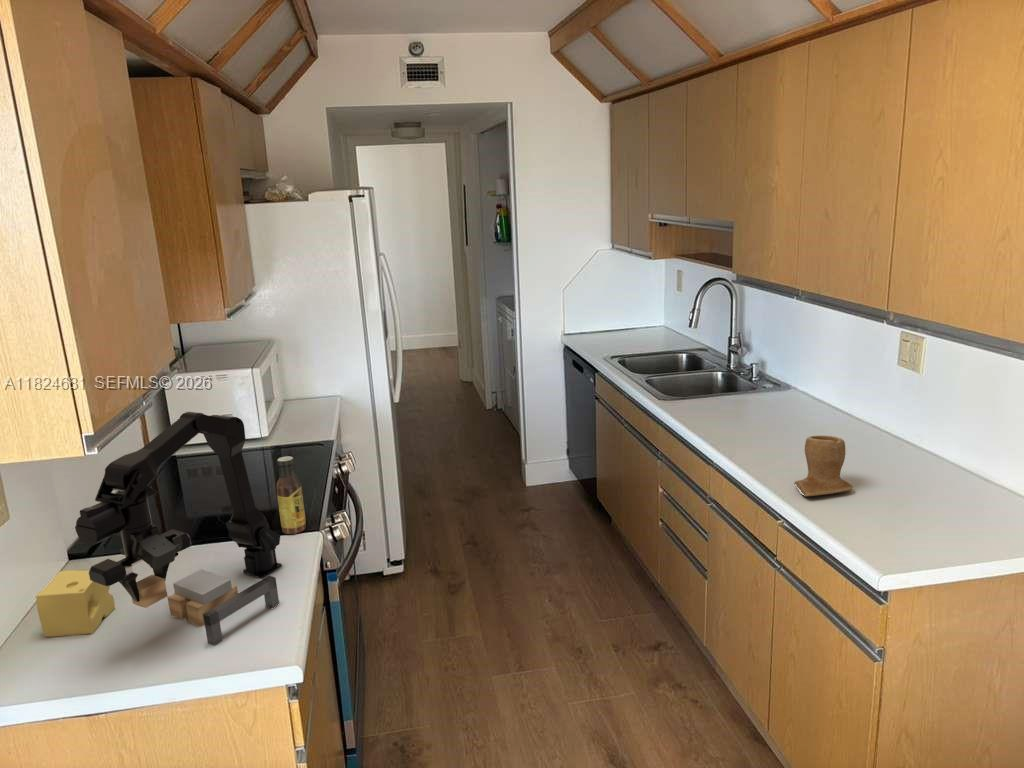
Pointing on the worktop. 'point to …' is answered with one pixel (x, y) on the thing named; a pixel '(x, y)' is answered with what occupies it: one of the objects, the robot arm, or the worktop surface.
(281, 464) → the sauce bottle
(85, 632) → the cheese
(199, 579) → the slab
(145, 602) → the block
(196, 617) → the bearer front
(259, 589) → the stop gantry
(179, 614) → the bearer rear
